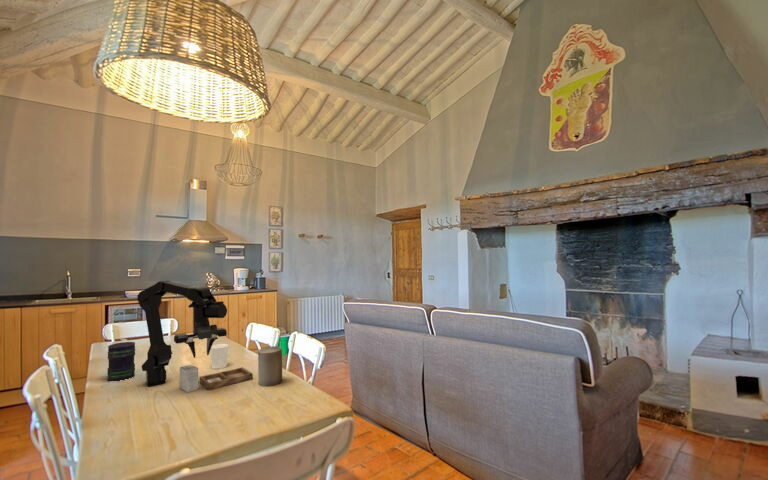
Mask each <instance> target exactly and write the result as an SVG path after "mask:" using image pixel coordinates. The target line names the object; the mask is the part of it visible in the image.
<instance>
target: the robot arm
mask: <svg viewBox="0 0 768 480" xmlns="http://www.w3.org/2000/svg"><path fill="white" fill-rule="evenodd" d="M167 293H171V294H173V295H178V296H183V297H186V299H187V300H189V301H191V303H190V304H189V305H188V308H189V309H190V308H192V326H193V327H192V328H193V329H192V334H187V333H186V332H183V333H176V334H174V336H173V342H174V343H175V344H183V343H184V344H186V345H187V346H188V348H189V350H190V352H191V355H192V356H193V358H194V359H195V358H196V348H195V347H196V345H195V341H194V339H199V340H204V339H206V356H209V354H210V353H211V350H210V349H211V347H212V346H213V345H214V342H215V341H216V340H218V339H219V338H220V337H227V336H228V333H227V329H226V328H224V327H218V325H217V324H211V323H210V320H209V319H224V318H225V317H226V316H227V313H228V308H227V305H226V304H225V303H224V301H222V300H220V301H218V300H217V299H216V298H215V297H214V294H213V293H212V291H211V288H209V287H207V286H190V285H184V284H181V283H177V282H172V281H170V280H159V281H157V282H156V283H155V284H152V285H151V286H149V287H147V288H145V289H143V290H141V291H139V293H138V294H137V296H136V297H137V302H138V304H139V308H141V309H142V311H143V312H144V313H145V319H146V327H147V332H148V337H149V343H150V344H149V348H148V351H147V353H146V355H147V359H146V360H145V361H144V363H142V365H141V369H142V372H146V373H145V376H146V378H145V382H144V383H145V385H146V386H147V387H151V386H156V385H162V384H165V383H167V382H166V380H167V370H166V366H169V364H170V361H171V359H172V357H173V356H172V355H173V351H172V346H171V344H167V343H166V342H165V340H164V338H165V337H164V334H163V327H162V322H161V321H162V319H161V315H160V314H161V313H160V306H161V304H162V301H163V299H162V297H163V296H165V295H167ZM218 337H219V338H218Z"/></svg>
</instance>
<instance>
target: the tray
mask: <svg viewBox="0 0 768 480" xmlns="http://www.w3.org/2000/svg"><path fill="white" fill-rule="evenodd" d="M253 379H254V377H253V373H252V372H251V371H249V370H248V369H246V368H245V367H239V368H238V367H237V368H234V369H230V370H229V369H228V370H225V371H219V372H215V373H211V374H205V375H202V376H198V381H199V384H200V385H201V386H203V387H204V389H206V390H207V391H210V390H215V389H217V388H223V387H227V386H231V385H234V384H240V383H241V382H242V383H243V382H247V381H251V380H253Z"/></svg>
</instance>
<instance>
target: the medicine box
mask: <svg viewBox="0 0 768 480" xmlns="http://www.w3.org/2000/svg"><path fill="white" fill-rule="evenodd" d="M199 384H200V383H199V368H198V367H197V366H195V365H193V364H186V365H183V366H180V367H179V389H181V390H182V391H184V392H186V393H191V392H194V391H197V390H199V388H200V387H199Z"/></svg>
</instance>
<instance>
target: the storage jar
mask: <svg viewBox="0 0 768 480" xmlns="http://www.w3.org/2000/svg"><path fill="white" fill-rule="evenodd" d="M135 345H136V342H134V341H125V342H123V341H121V342H117V343H113V344H110V345H107V347H108V350H107V360H108V367H107V382H110V381H117V382H121V381H120V380H123V381H126V380H125V379H127V380H130V379H132V377H133V378H135V371H136V364H135V355H136V346H135ZM129 378H130V379H129Z"/></svg>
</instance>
